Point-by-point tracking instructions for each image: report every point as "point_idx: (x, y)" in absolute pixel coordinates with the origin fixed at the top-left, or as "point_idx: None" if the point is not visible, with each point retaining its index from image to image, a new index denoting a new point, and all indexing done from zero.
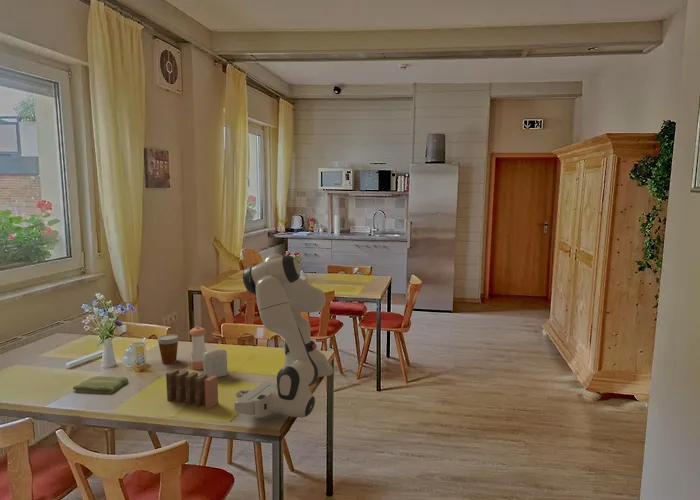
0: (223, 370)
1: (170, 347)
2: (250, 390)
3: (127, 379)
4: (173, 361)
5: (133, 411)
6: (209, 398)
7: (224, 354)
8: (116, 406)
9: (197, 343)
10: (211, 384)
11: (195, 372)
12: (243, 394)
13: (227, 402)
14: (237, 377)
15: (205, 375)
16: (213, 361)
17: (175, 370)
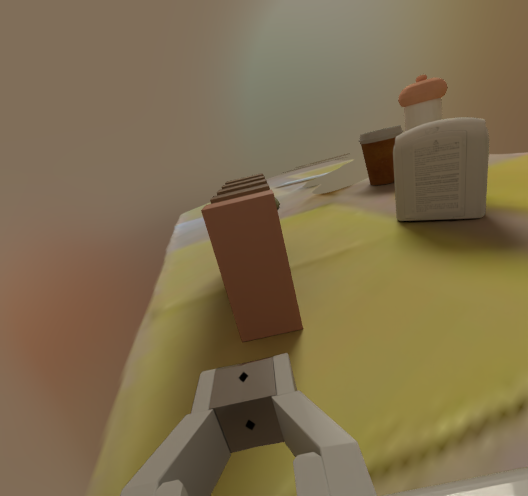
0: (464, 199)
1: (377, 150)
2: (334, 471)
3: (276, 202)
4: (387, 180)
5: (176, 261)
6: (229, 298)
7: (472, 136)
8: (192, 243)
9: (414, 125)
10: (229, 233)
11: (264, 180)
12: (144, 487)
13: (338, 346)
14: (520, 231)
15: (255, 189)
16: (422, 163)
17: (252, 176)
